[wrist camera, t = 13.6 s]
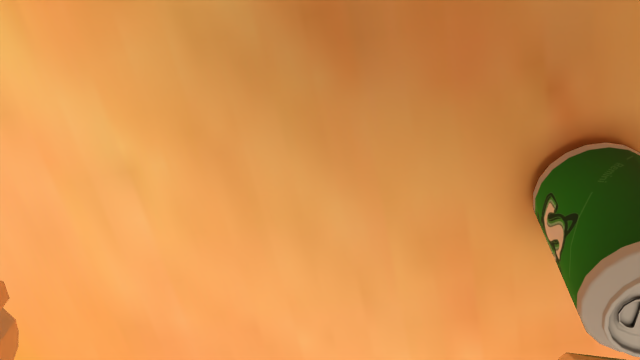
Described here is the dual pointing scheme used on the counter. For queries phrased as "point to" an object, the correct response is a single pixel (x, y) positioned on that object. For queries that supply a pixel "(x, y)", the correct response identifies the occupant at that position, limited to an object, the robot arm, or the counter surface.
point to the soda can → (597, 237)
